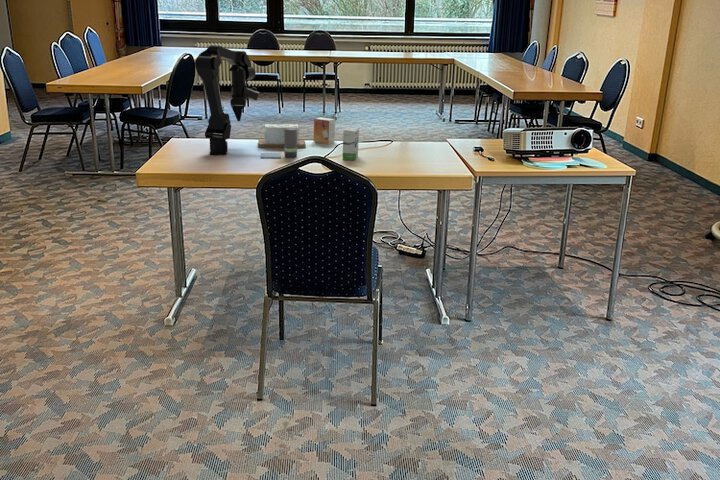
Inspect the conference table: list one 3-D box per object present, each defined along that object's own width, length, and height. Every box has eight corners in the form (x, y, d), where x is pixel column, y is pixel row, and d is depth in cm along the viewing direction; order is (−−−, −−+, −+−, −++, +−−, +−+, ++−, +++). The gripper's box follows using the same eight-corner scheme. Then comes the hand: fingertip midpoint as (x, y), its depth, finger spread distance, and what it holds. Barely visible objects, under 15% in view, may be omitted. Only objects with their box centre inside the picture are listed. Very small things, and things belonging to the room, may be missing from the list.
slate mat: (260, 158, 274) (260, 156, 274) (260, 154, 280) (260, 153, 280) (280, 158, 275) (280, 156, 275) (280, 154, 282) (280, 153, 281)
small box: (313, 142, 308) (313, 118, 305) (319, 140, 313) (320, 116, 310) (328, 144, 305) (329, 120, 302) (335, 142, 310) (335, 118, 306)
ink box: (354, 160, 276) (355, 131, 272) (342, 159, 277) (342, 130, 273) (358, 156, 284) (359, 127, 280) (346, 155, 285) (347, 126, 281)
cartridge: (284, 157, 276) (284, 130, 272) (284, 155, 281) (284, 128, 277) (297, 157, 277) (297, 130, 273) (296, 155, 282) (296, 128, 278)
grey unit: (258, 147, 293) (258, 127, 290) (258, 142, 302) (258, 123, 300) (305, 147, 296) (305, 128, 293) (304, 143, 305) (304, 124, 302)
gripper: (257, 85, 280) (258, 123, 285) (258, 79, 297) (258, 116, 303) (229, 84, 279) (230, 123, 284) (232, 79, 296) (233, 115, 301)
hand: (239, 119), depth 293 cm, fingers open, 9 cm apart
